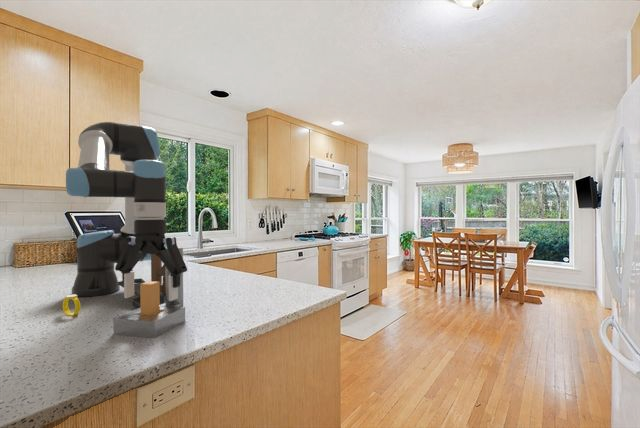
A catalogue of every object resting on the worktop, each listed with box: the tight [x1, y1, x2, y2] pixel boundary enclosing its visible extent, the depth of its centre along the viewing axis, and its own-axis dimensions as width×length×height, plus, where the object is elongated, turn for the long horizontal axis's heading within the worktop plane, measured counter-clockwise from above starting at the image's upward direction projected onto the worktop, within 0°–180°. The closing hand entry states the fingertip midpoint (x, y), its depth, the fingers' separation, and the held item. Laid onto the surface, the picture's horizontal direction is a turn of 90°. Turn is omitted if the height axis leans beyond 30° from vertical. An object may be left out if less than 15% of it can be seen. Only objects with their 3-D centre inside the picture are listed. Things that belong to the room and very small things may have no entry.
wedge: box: [140, 280, 160, 316], centre depth 85 cm, size 3×3×12 cm
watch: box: [62, 294, 82, 317], centre depth 96 cm, size 6×3×6 cm, turn 70°
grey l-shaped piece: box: [112, 247, 186, 339], centre depth 88 cm, size 18×12×20 cm
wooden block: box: [150, 254, 165, 296], centre depth 120 cm, size 4×11×18 cm, turn 67°
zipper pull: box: [118, 277, 166, 310], centre depth 107 cm, size 9×7×25 cm
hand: (151, 298), depth 85 cm, fingers open, 13 cm apart
